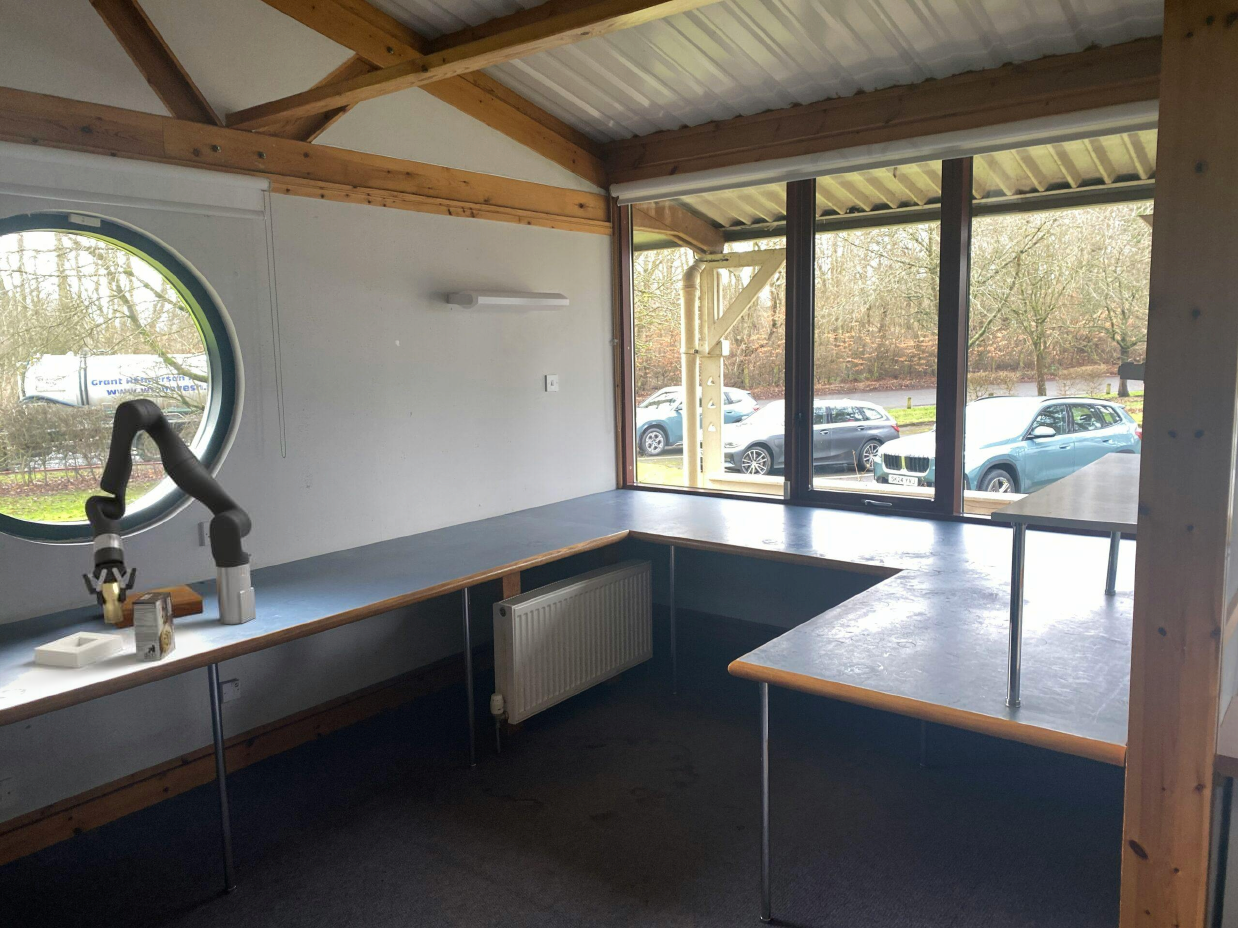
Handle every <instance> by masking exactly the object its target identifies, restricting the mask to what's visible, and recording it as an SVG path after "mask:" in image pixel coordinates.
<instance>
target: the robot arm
mask: <svg viewBox="0 0 1238 928" xmlns="http://www.w3.org/2000/svg"><path fill="white" fill-rule="evenodd" d="M113 416H114V417H113V423H112V432H111V437H110V445H109V446H110V447H109V453H108V457H107V460H106V464H105V467H104V469H103V473H102V476H101V478H100V482H99V488H100V489H101V490H102V491H103V492H105V493H108V494H110V495H113V496H108V495H97V494H96V495H91V496H89V497H88V498H87V499H86V501H85V504H84V511H85V515H86V518H87V520H88V522H89V523H90V524H89V525H90V527H91V529H92V531H93V532H92V533H93V548H92V549H93V565H94V566H93V567H94V569H93V571H92V573H83V574H82V581H83V583H84V584H85V585H84V586H85V587H86V590H87V591H88V594H89V595H90V596H92V595H95V596H96V603H97V605H99V606H100V607H103V597H102V589H101V584H102V583H104V582H109V581H119V583H120V597H121V603H124V601H126V595H127V591H128V590H133V588H134V585H135V583H136V578H137V575H138V571H137V570H138V569H137V567H132V568H127V567H126V565H125V555H124V554H125V553H124V552H125V549H124V544H123V540H122V529H121V525H120V523H119V522H118V521H119V520H121V519H122V518H123V517H124V516H125V514H126V510H127V509H126V493H127V488H128V484H129V481H130V480H131V479H130V478H131V476H132V472H133V464H134V463H133V458H132V447H133V446H132V444H133V442H134V440H135V437H136V435H137V434H138V432H141V431H144V432H146V433H147V435H148V436H149V437H150V438H151V439H152V441H153V442H154V443H155V444H156V447H157V448H158V451H159V455H160V459H161V463H162V467H163V470H164V471H165V473H166V475H168V477H169V478H170V479H171V480H172V482H173V483H174V484H175V486H176V487H178V488H179V489H180V490H181V491H182V492H184V493H185V494H187V495H188V496H190V497H192V498H193V499H195V500H197V501H198V502H200V503H202V504H203V505H204V506H205V507H207V509H208V510H209V511H210V512H211V513H212V514H213V515H214V516H213V518H212V519H211V520H210V522H209V529H208V532H209V533H208V534H209V541H210V542H209V543H210V549H211V555H212V558H213V560H214V562H215V573H216V574H215V575H216V578H215V579H216V589H217V591H216V592H217V604H218V616H219V618H218V619H219V624H220V623H221V624H224V625H237V624H245V623H247V622H249V621H252V620H253V619H256V617H257V613H256V612H257V611H256V599H255V588H254V587H253V586H252V583H251V569H250V568H251V567H250V555H249V553H248V552H246V551H245V550H243V547H242V539H243V538H245V537H247V536H248V535H250V533H251V530H252V525H253V523H252V520H251V517H250V516H249V514H248V513H247V512H246V511H245V510H244V509H243V507H241V506H240V505H239V504H238V503H237V502H236V501H235V500H234V499H233V498H232V497H231V496H230V495H229V494H228V493H227V492H226V491H225V490H224V488H223V487H222V486H221V485H220V484H219V483H218V481H217V480H216V479H215V477H213V476H212V474H211V473H210V472H209V471H208V469H207V468H206V467H205V465H204V464H203V463H202V461H200V459H199V458H198V457H197V456H196V455H195V453H194V452H192V451H191V449H190V447H189V446H188V445H187V444H186V442H185V441H183V439H182V438H181V437H180V436H179V435H178V433H177V432H176V431H175V429H174V427H173V426H172V425H171V423H170V421H169V420H168V419H167V417H166V414H164V412H163V411H162V410H161V408H160V407H159V405H158V404H156V403H155V402H154V401H153V400H151V399H148V398H137V399H130V400H125V401H122V402H120V403H119V405H118V406H117V407H116V409H115V412H114V415H113ZM126 575H128V581H127V583H125V581H124V580H123V578H124V577H125V576H126ZM93 578H94V579H95V580H96V581H98V583H97V586H96V587H94V585H93V584H92V582H93Z"/></svg>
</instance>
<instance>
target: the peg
mask: <svg viewBox="0 0 1238 928" xmlns="http://www.w3.org/2000/svg"><path fill="white" fill-rule="evenodd" d="M101 589H102V597H103V606H102V607H103V617H104V623H105V624H114V623H115V622H119V621H122V620H123V612H122V603H121V597H120V583H119V581H109V582H104V583H102V584H101Z"/></svg>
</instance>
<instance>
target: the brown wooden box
mask: <svg viewBox="0 0 1238 928" xmlns="http://www.w3.org/2000/svg"><path fill="white" fill-rule="evenodd" d="M148 592H171V603H172V614H173V619H177V618H183V617H188V616H189V617H190V616H193V615H199V614H203V613H204V607H203V598H202V596H201V595H200V594H199V593H197V592H196V591H194V589H193V590H192V589H191V588H190V587H188V586H187V585H185V584H183V585H177V586H171V587H166V588H159V589H153V590H147V591H143V592H136V593H131V594H130V593H129V594H126V601H124V603H122V612H123V620H122V621H119V622H115V623H113V624H114V625H115V626H116V628H118V629H119V630H121V629H126V628H131V627H134V619H133V608H132V602H133V601H135V600H136V599H138V598H139V597H141V596H143V595H144V594H146V593H148Z"/></svg>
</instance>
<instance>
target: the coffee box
mask: <svg viewBox="0 0 1238 928" xmlns="http://www.w3.org/2000/svg"><path fill="white" fill-rule="evenodd" d="M132 608H133V619H134V626H133V629H134V637H135V638H134V639H135V641H134V642H135V652H136V661H137V662H147V661H148V660H159V661H162V660H163V659H164V658H166V657H167V656H168V655H169V654H171V653H172V652H173V651H174V650H175V649H176V640H175V639H176V638H175V628H174V618H173V614H172V603H171V592H148V593H146V594H144V595H143V596H141V597H139V598H138V599H136V600H135V601H133V602H132ZM165 656H166V657H165ZM148 662H149V661H148Z"/></svg>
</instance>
